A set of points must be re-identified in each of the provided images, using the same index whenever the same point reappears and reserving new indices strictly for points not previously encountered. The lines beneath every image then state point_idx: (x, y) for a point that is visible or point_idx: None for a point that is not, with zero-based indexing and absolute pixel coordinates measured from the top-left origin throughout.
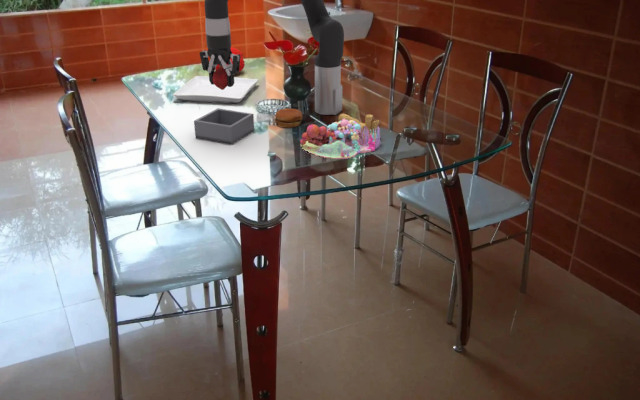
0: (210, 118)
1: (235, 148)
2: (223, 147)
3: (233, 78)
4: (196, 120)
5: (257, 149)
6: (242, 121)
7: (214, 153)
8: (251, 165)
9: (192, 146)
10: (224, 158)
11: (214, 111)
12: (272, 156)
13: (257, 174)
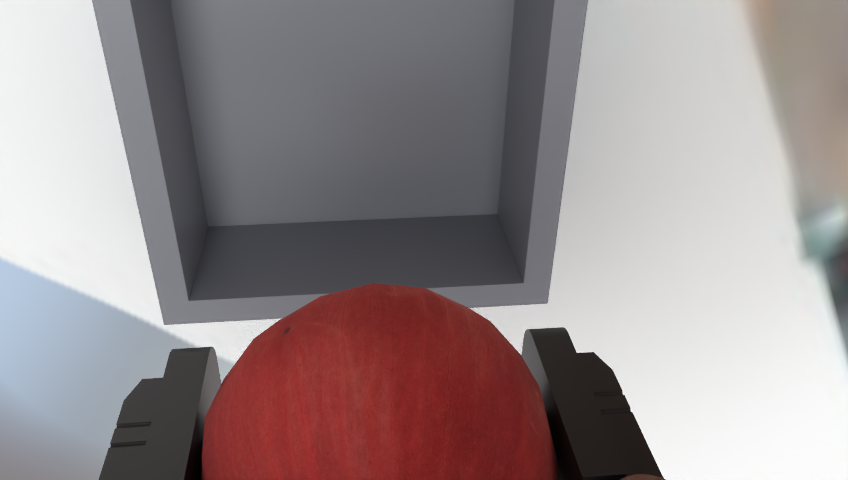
0: (163, 100)
1: (563, 256)
2: None
3: (637, 446)
4: (178, 310)
5: (712, 209)
6: (566, 127)
7: None
8: (745, 389)
9: None
10: None
11: (131, 27)
12: (836, 256)
13: (803, 444)
